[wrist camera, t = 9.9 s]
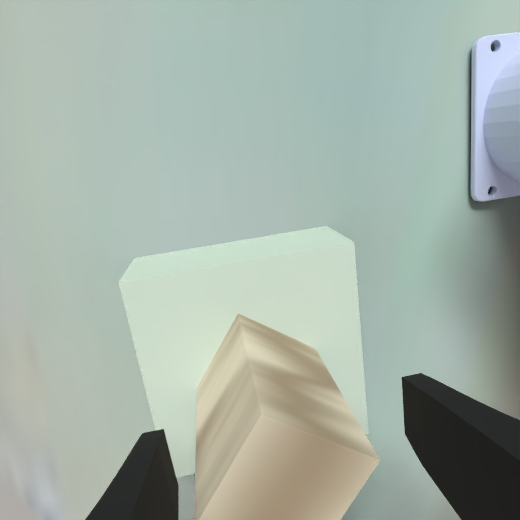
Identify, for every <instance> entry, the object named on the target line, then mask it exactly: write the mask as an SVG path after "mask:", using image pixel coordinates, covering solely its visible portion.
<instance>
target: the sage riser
mask: <svg viewBox="0 0 520 520" xmlns="http://www.w3.org/2000/svg"><path fill="white" fill-rule="evenodd" d="M119 286H120V290H121V294H122V298H123V302H124V306H125V310H126V314H127V318H128V322H129V326H130V330H131V334H132V338H133V342H134V346H135V350H136V354H137V358H138V362H139V366H140V370H141V374H142V378H143V382H144V386H145V390H146V394H147V398H148V402H149V406H150V410H151V414H152V418H153V422H154V426H155V430H161V429H164V432H165V436H166V440H167V444H168V448H169V451H170V455H171V459H172V463H173V467H174V471H175V475H176V478H178V477H183V476H187V475H192V474H195V458H196V395H197V387H198V385H199V383H200V381H201V380H202V378H203V376H204V374H205V372H206V371H207V369H208V367H209V365H210V363H211V362H212V360H213V358H214V356H215V354H216V352H217V351H218V349H219V347H220V345H221V343H222V342H223V340H224V338H225V336H226V334H227V333H228V331H229V329H230V327H231V325H232V323H233V322H234V320H235V318H236V316H237V314H240V315H243V316H245V317H247V318H249V319H251V320H254V321H256V322H258V323H260V324H262V325H265V326H267V327H269V328H271V329H274V330H276V331H278V332H280V333H282V334H285V335H287V336H289V337H291V338H294V339H296V340H298V341H300V342H302V343H305V344H307V345H309V346H311V347H313V348H315V349H316V351H317V352H318V354H319V356H320V357H321V359H322V361H323V363H324V364H325V366H326V368H327V369H328V371H329V373H330V375H331V376H332V378H333V380H334V382H335V383H336V385H337V387H338V388H339V390H340V392H341V394H342V395H343V397H344V399H345V400H346V402H347V404H348V406H349V407H350V409H351V411H352V412H353V414H354V416H355V418H356V419H357V421H358V423H359V424H360V426H361V428H362V430H363V431H364V433H365V435H369V433H368V419H367V406H366V393H365V380H364V367H363V354H362V340H361V327H360V314H359V301H358V288H357V275H356V261H355V248H354V242H353V241H351V240H350V239H348V238H346V237H345V236H343V235H341V234H339V233H338V232H336V231H334V230H333V229H331V228H329V227H328V226H322V227H316V228H310V229H304V230H298V231H292V232H286V233H280V234H274V235H269V236H263V237H257V238H251V239H245V240H239V241H233V242H227V243H221V244H215V245H209V246H203V247H197V248H191V249H185V250H179V251H173V252H167V253H162V254H156V255H150V256H144V257H138V258H134V259H133V261H132V262H131V264H130V266H129V267H128V269H127V270H126V272H125V274H124V275H123V277H122V278H121V280H120V282H119Z"/></svg>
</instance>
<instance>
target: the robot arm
mask: <svg viewBox="0 0 520 520" xmlns="http://www.w3.org/2000/svg"><path fill="white" fill-rule="evenodd" d="M491 43H493V44H494V45H495V50H494V52H493V51H492V50H491ZM490 187H491V188H492V191H491V193H490V194H488V189H489V188H490ZM514 196H520V32H515V33H507V34H499V35H491V36H485V37H482V38H479V39H477V40H476V41H475V42H474V44H473V46H472V80H471V197H472V198H473V200H475V201H479V202H484V201H490V200H496V199H502V198H508V197H514ZM402 389H403V407H404V425H405V435H406V436H407V438H408V440H409V442H410V444H411V446H412V448H413V450H414V451H415V453H416V455H417V457H418V458H419V460H420V462H421V464H422V465H423V467H424V468H425V470H426V471H427V472H428V474H429V475H430V477H431V478H432V479H433V481H434V482H435V484H436V485H437V486H438V488H439V489H440V491H441V492H442V493H443V495H444V496H445V498H446V499H447V500H448V502H449V503H450V504H451V506H452V507H453V509H454V510H455V511H456V513H457V514H458V515H459V517H460V518H461V520H520V420H518V419H516V418H513V417H511V416H509V415H506V414H504V413H502V412H500V411H497V410H495V409H493V408H491V407H489V406H487V405H485V404H483V403H481V402H478V401H476V400H474V399H472V398H470V397H468V396H466V395H464V394H462V393H460V392H458V391H456V390H454V389H452V388H450V387H448V386H447V385H445V384H443V383H441V382H439V381H437V380H435V379H433V378H430V377H428V376H426V375H424V374H422V373H419V374H415V375H410V376H406V377H402ZM85 520H178V483H177V479H176V475H175V471H174V467H173V463H172V459H171V455H170V451H169V448H168V444H167V440H166V436H165V432H164V429H161V430H156V431H151V432H147V433H142V435H141V436H140V437H139V439H138V441H137V442H136V444H135V446H134V447H133V449H132V450H131V452H130V454H129V455H128V457H127V459H126V460H125V462H124V463H123V465H122V467H121V468H120V470H119V471H118V473H117V475H116V476H115V478H114V479H113V481H112V482H111V484H110V485H109V487H108V488H107V490H106V491H105V493H104V494H103V496H102V497H101V499H100V500H99V502H98V503H97V504H96V506H95V507H94V508H93V510H92V511H91V513H90V514H89V515H88V517H87V518H86V519H85Z"/></svg>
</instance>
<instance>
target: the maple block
mask: <svg viewBox="0 0 520 520" xmlns="http://www.w3.org/2000/svg"><path fill="white" fill-rule="evenodd" d="M379 461H380V459H379V457H378V455H377V454H376V452H375V450H374V448H373V447H372V445H371V443H370V442H369V440H368V438H367V436H366V435H365V433H364V431H363V430H362V428H361V426H360V424H359V423H358V421H357V419H356V418H355V416H354V414H353V412H352V411H351V409H350V407H349V406H348V404H347V402H346V400H345V399H344V397H343V395H342V394H341V392H340V390H339V388H338V387H337V385H336V383H335V382H334V380H333V378H332V376H331V375H330V373H329V371H328V369H327V368H326V366H325V364H324V363H323V361H322V359H321V357H320V356H319V354H318V352H317V351H316V349H315V348H313V347H311V346H309V345H307V344H305V343H302V342H300V341H298V340H296V339H294V338H291V337H289V336H287V335H285V334H282V333H280V332H278V331H276V330H274V329H271V328H269V327H267V326H265V325H262V324H260V323H258V322H256V321H254V320H251V319H249V318H247V317H245V316H243V315H240V314H237V316H236V318H235V320H234V322H233V323H232V325H231V327H230V329H229V331H228V333H227V334H226V336H225V338H224V340H223V342H222V343H221V345H220V347H219V349H218V351H217V352H216V354H215V356H214V358H213V360H212V362H211V363H210V365H209V367H208V369H207V371H206V372H205V374H204V376H203V378H202V380H201V381H200V383H199V385H198V387H197V395H196V458H195V520H341V518H342V517H343V515H344V514H345V512H346V511H347V509H348V508H349V506H350V505H351V503H352V502H353V500H354V499H355V497H356V496H357V494H358V493H359V491H360V490H361V488H362V487H363V485H364V484H365V482H366V481H367V479H368V478H369V476H370V475H371V473H372V472H373V470H374V469H375V467H376V466H377V464H378V463H379Z"/></svg>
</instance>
